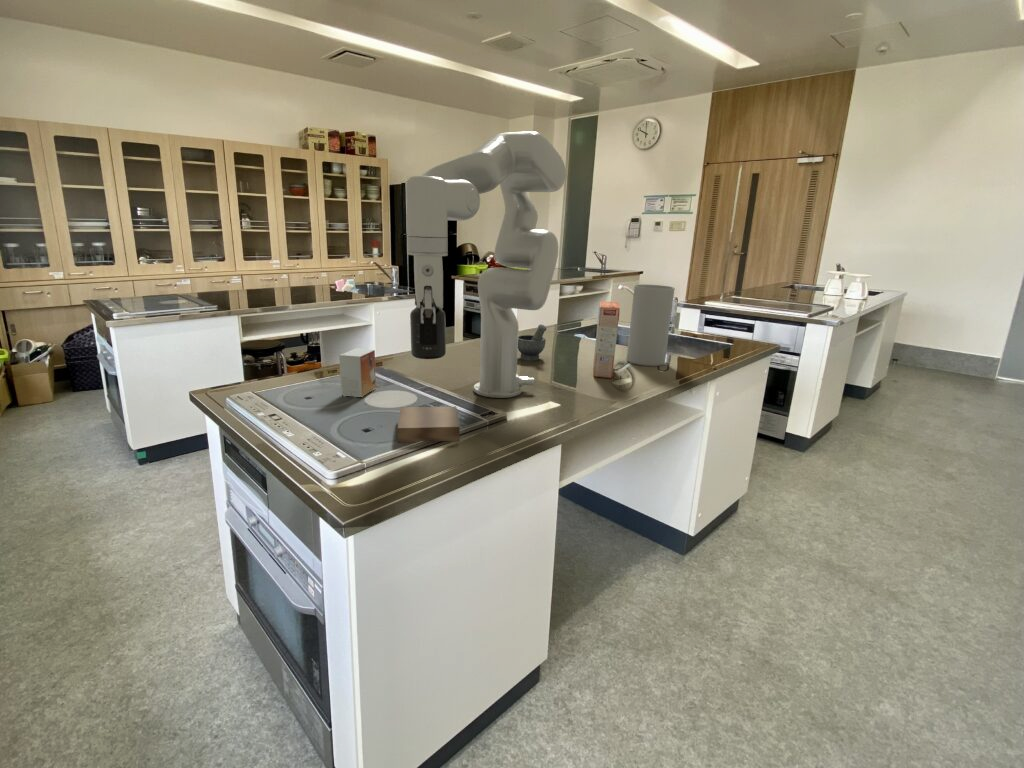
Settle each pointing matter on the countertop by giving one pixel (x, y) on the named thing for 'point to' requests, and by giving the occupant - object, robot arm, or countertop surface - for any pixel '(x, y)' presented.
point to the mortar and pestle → (532, 344)
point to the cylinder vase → (650, 324)
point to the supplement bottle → (416, 347)
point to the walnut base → (428, 424)
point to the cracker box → (606, 339)
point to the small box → (357, 372)
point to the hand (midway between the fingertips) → (428, 339)
